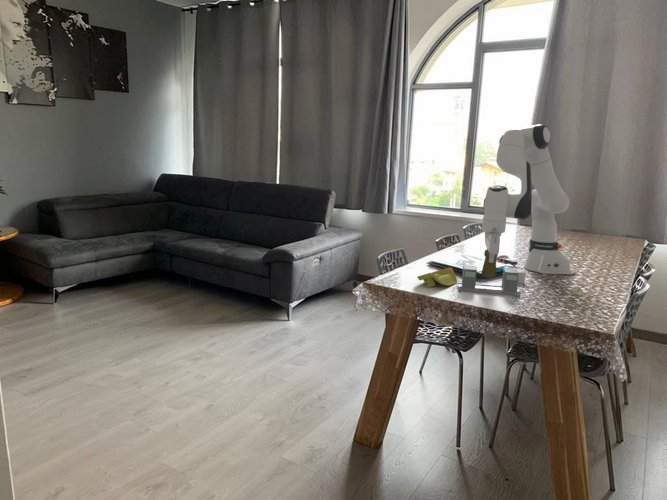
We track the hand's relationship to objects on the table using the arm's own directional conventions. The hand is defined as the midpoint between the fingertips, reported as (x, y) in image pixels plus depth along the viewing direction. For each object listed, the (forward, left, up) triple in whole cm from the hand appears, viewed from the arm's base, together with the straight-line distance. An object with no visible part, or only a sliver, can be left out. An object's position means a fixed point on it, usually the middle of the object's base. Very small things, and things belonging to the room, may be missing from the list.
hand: (490, 260), depth 199 cm
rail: (0, 0, -13) cm, 13 cm away
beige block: (-14, -19, -13) cm, 27 cm away
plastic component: (+21, -5, -13) cm, 25 cm away
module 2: (-8, 0, -11) cm, 14 cm away
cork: (0, 0, -7) cm, 7 cm away
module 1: (+8, 0, -11) cm, 14 cm away
